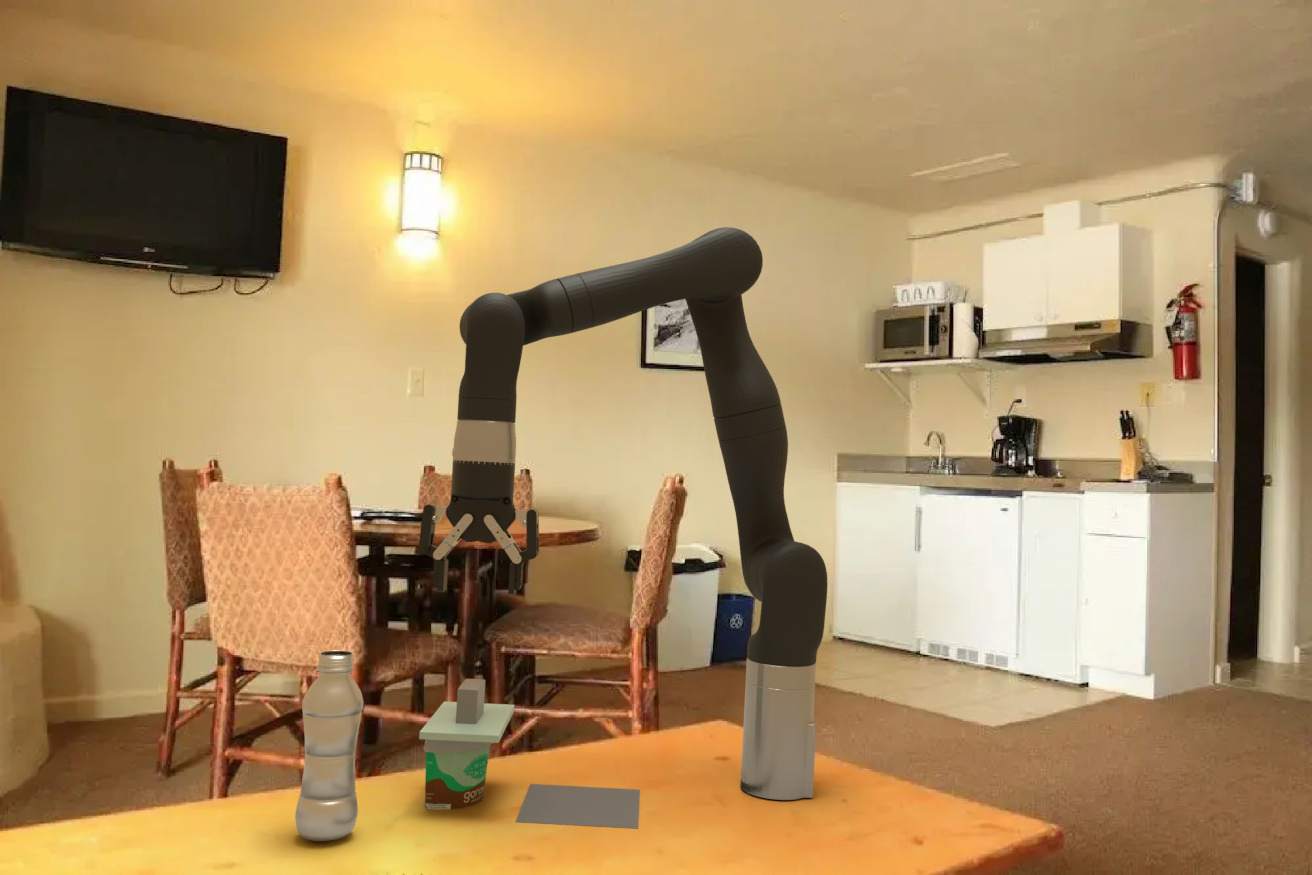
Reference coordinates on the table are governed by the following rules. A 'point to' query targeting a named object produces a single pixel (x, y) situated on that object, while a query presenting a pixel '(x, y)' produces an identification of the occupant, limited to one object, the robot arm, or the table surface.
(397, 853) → the table surface
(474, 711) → the lid
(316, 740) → the plastic bottle
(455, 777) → the food container
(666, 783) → the table surface
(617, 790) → the rubber mat
